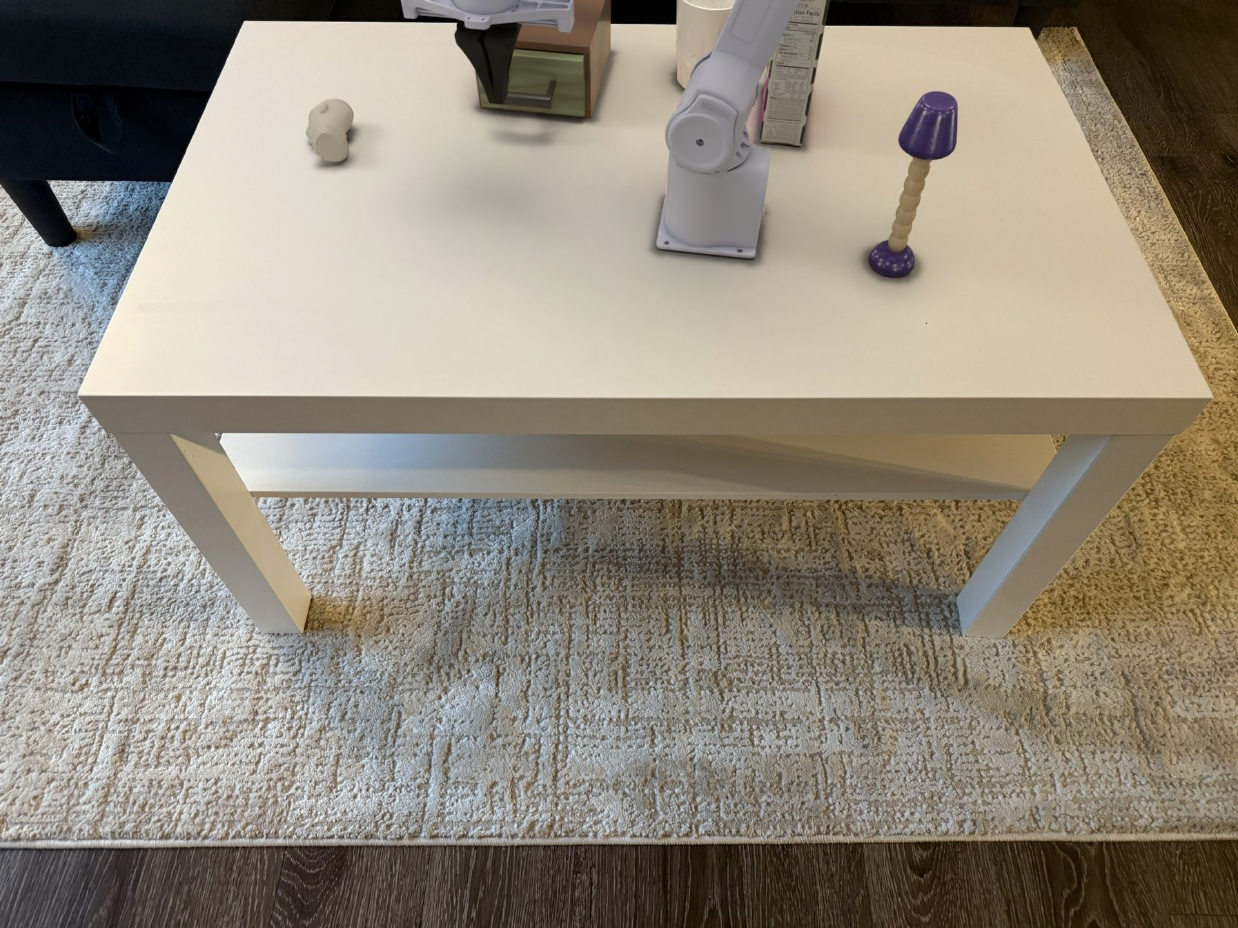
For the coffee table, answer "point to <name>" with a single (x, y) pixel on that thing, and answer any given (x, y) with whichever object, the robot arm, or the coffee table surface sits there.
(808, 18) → the candy bar box
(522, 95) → the drawer
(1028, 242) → the coffee table surface
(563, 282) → the coffee table surface
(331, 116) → the pale two-lobed sculpture
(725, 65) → the robot arm
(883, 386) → the coffee table surface
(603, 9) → the cabinet
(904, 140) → the toy lamp
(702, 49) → the white cup
